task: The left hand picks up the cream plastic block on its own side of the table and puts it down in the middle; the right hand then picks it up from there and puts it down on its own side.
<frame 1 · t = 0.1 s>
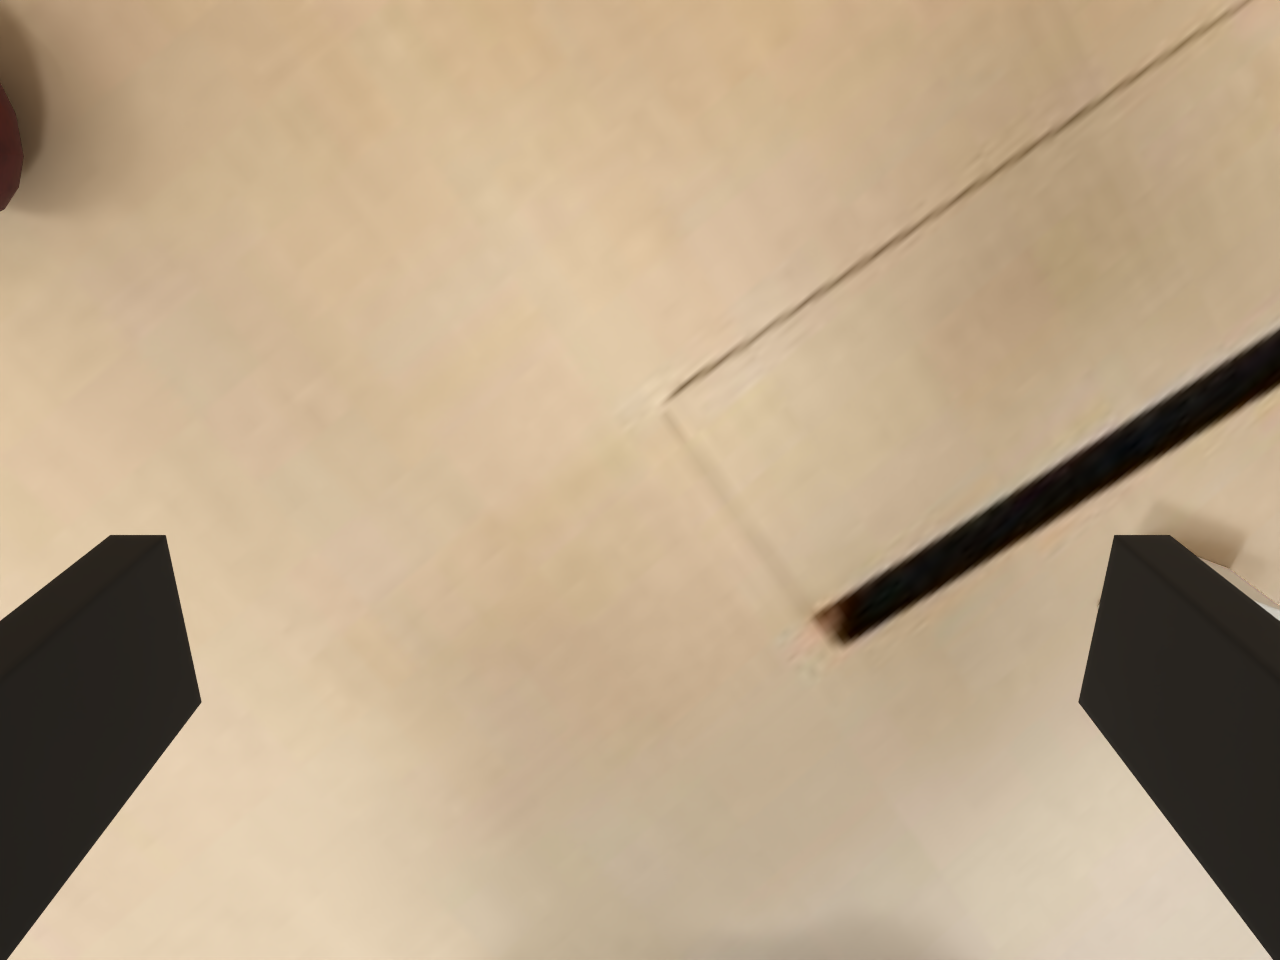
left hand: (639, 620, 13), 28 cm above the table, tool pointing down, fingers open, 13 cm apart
block: (1162, 588, 44), on the table
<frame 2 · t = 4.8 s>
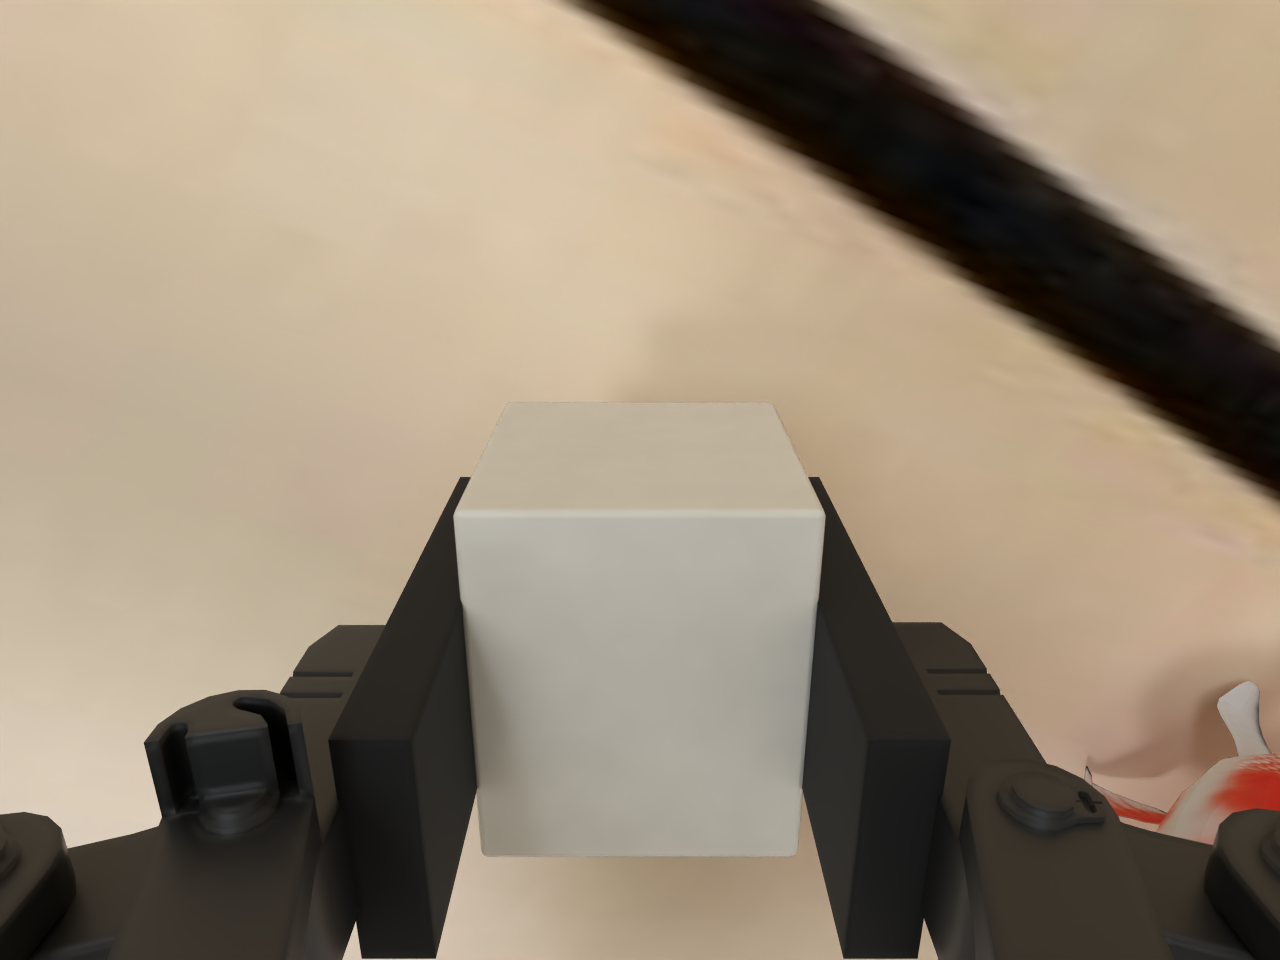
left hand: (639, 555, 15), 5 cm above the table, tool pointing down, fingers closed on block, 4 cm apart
block: (639, 545, 15), point 5 cm above the table, touching left hand
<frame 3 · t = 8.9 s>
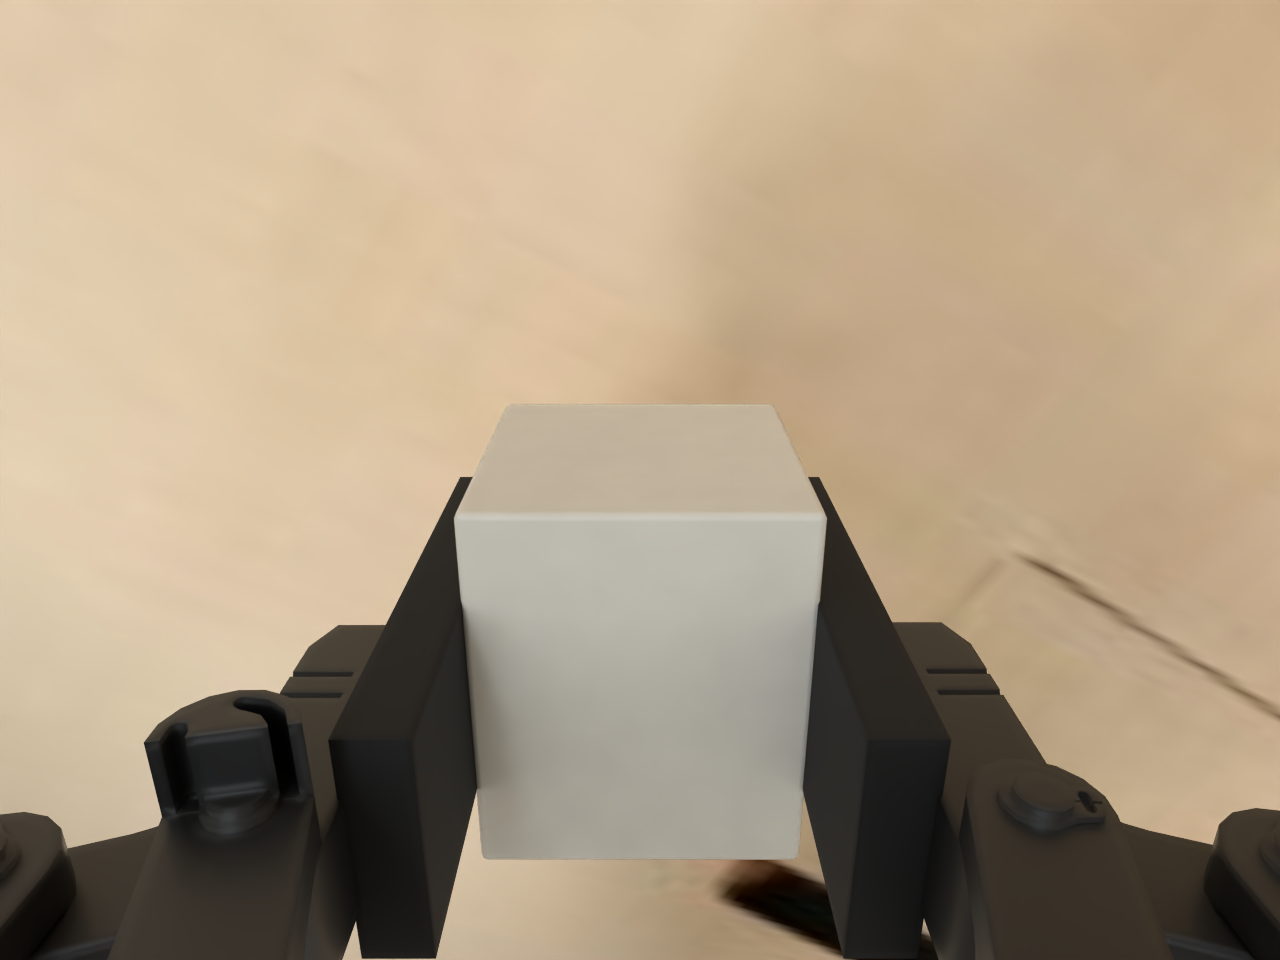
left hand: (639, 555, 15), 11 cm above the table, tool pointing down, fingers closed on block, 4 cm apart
block: (640, 547, 15), point 10 cm above the table, touching left hand
when the left hand's fingers open (0 cm above the table, at t = 13.1 s): block stays where it is, on the table.
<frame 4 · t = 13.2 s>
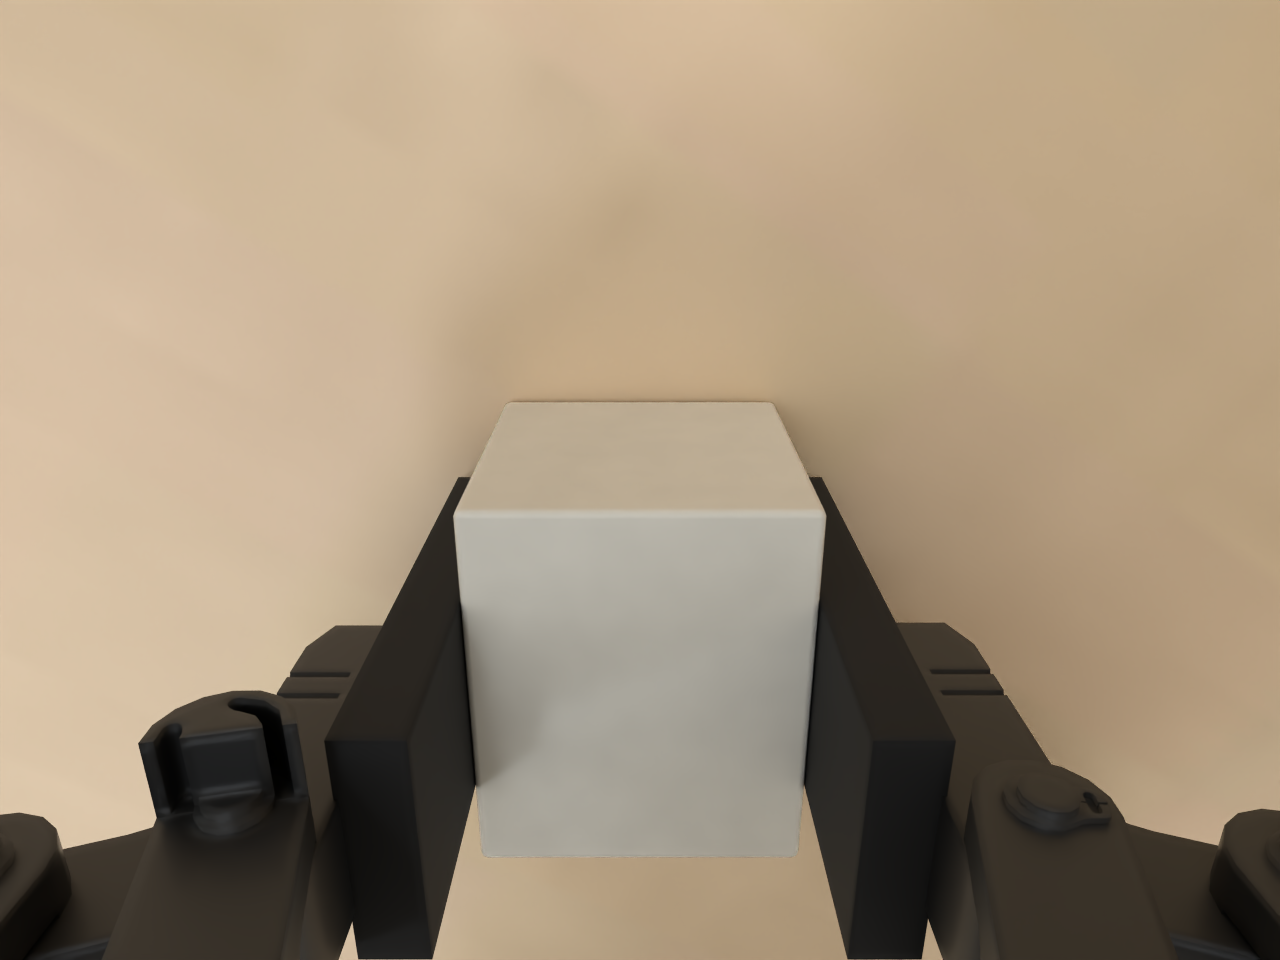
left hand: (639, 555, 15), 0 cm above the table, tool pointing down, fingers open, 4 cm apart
block: (639, 545, 15), on the table
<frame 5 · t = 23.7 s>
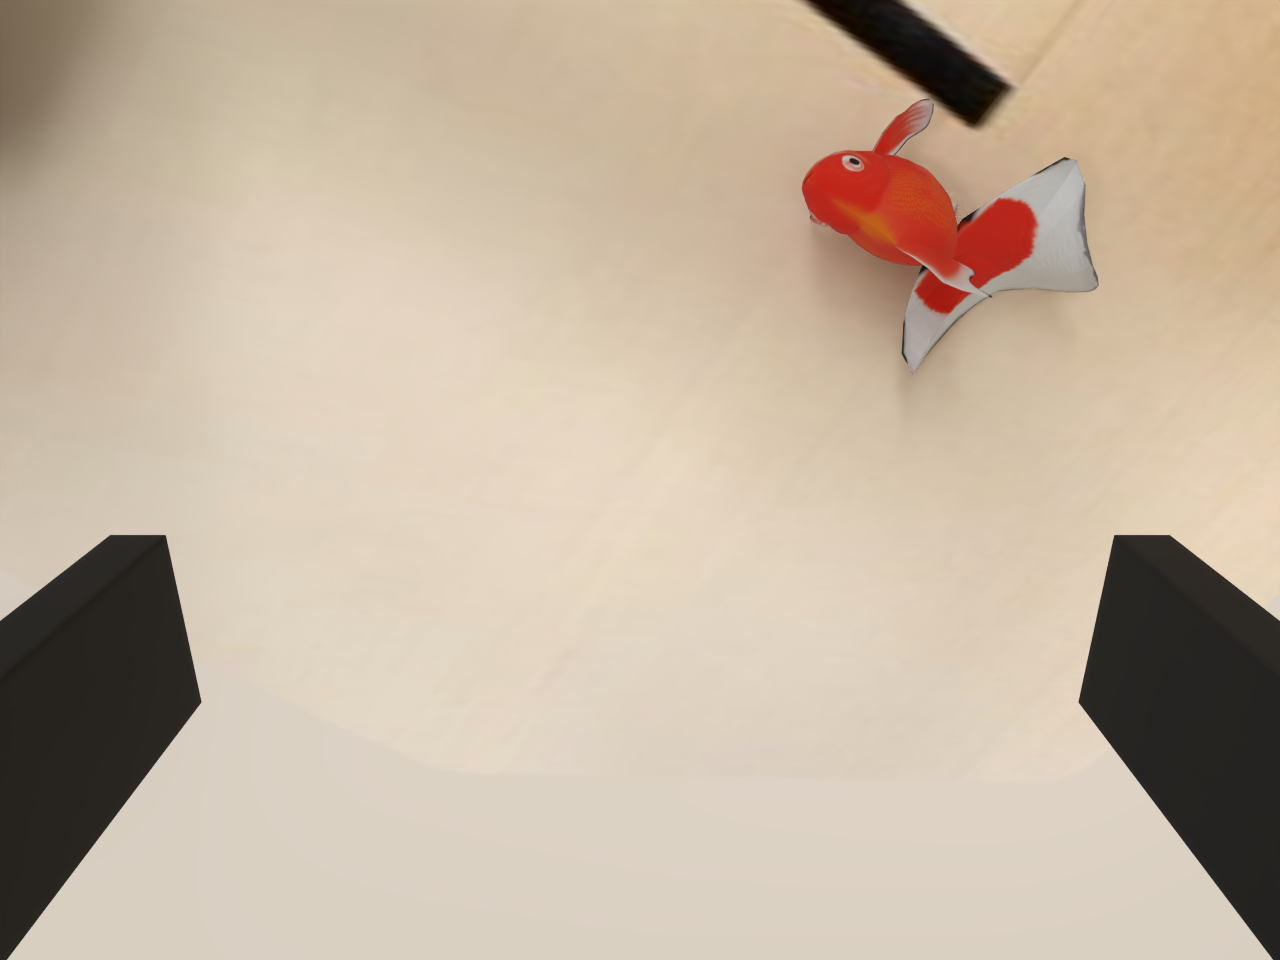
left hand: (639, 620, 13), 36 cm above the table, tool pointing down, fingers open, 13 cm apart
fish: (930, 225, 45), on the table
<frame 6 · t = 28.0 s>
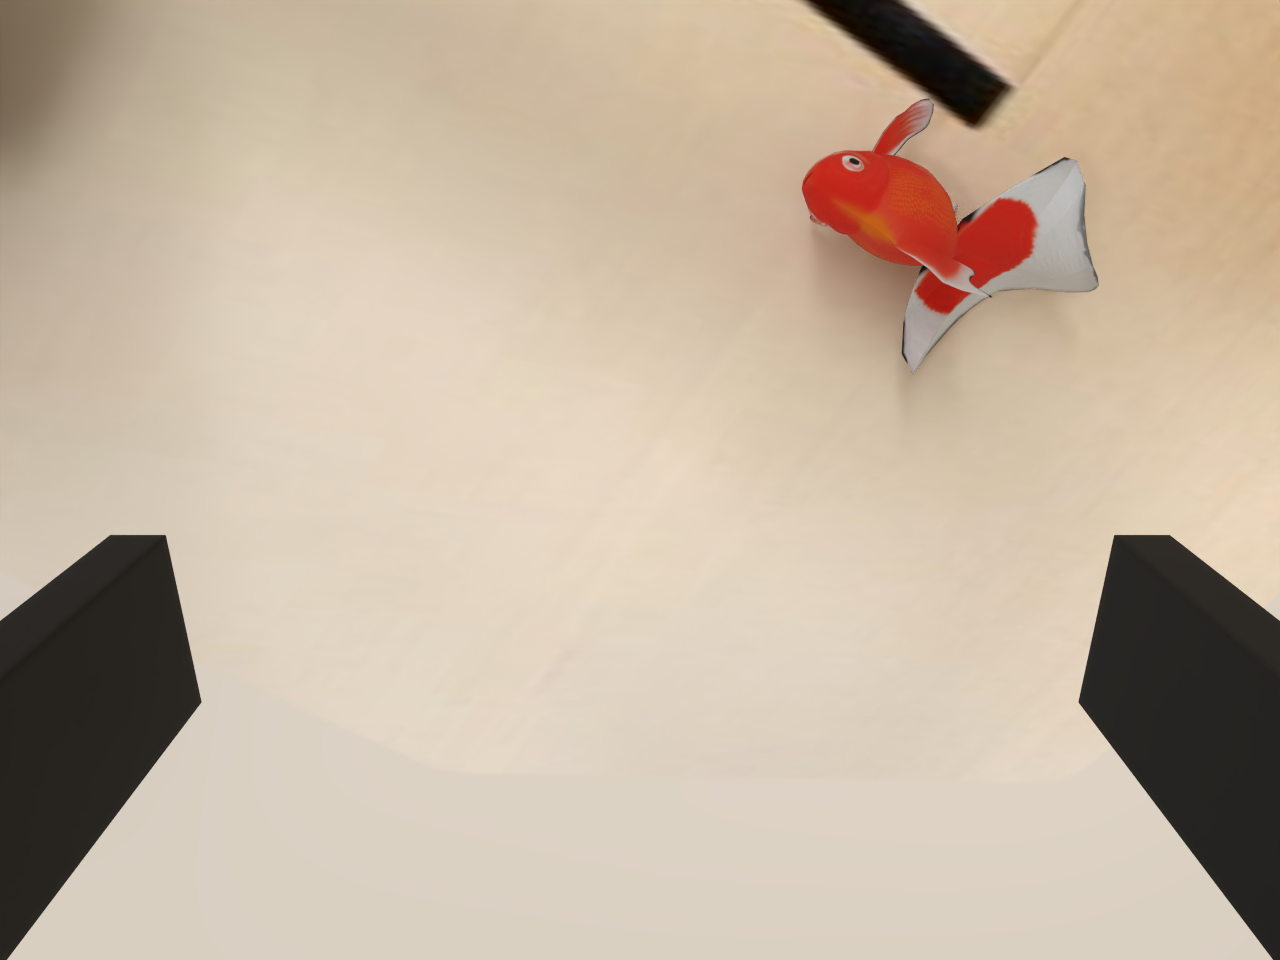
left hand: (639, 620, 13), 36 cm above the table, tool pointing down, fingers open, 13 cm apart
fish: (930, 225, 45), on the table
when the right hand's fingers open (1 cm above the table, at t = 32.6 s): block stays where it is, on the table.
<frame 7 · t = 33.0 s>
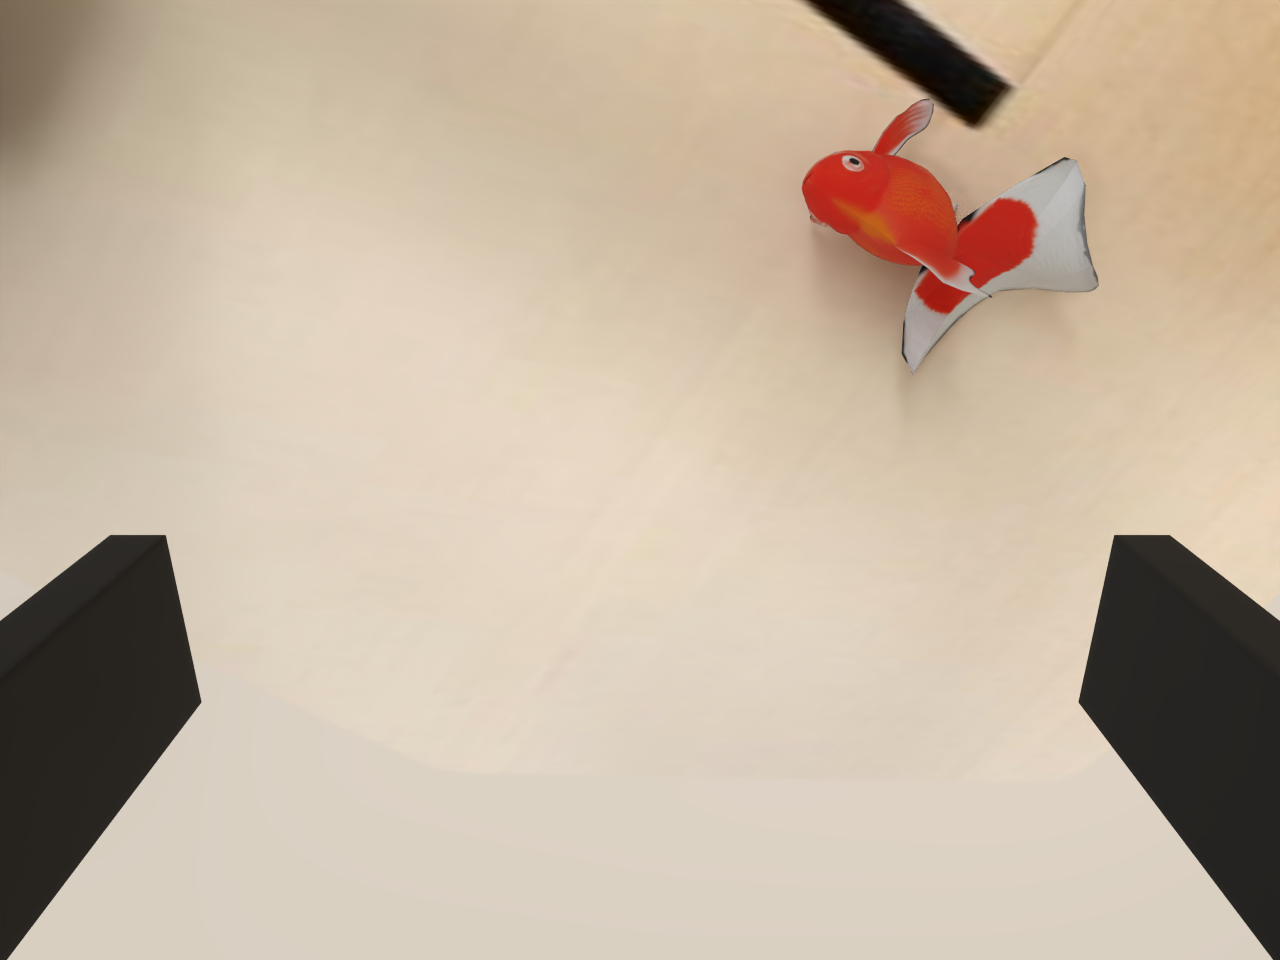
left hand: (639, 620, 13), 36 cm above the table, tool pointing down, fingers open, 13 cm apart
fish: (930, 225, 45), on the table
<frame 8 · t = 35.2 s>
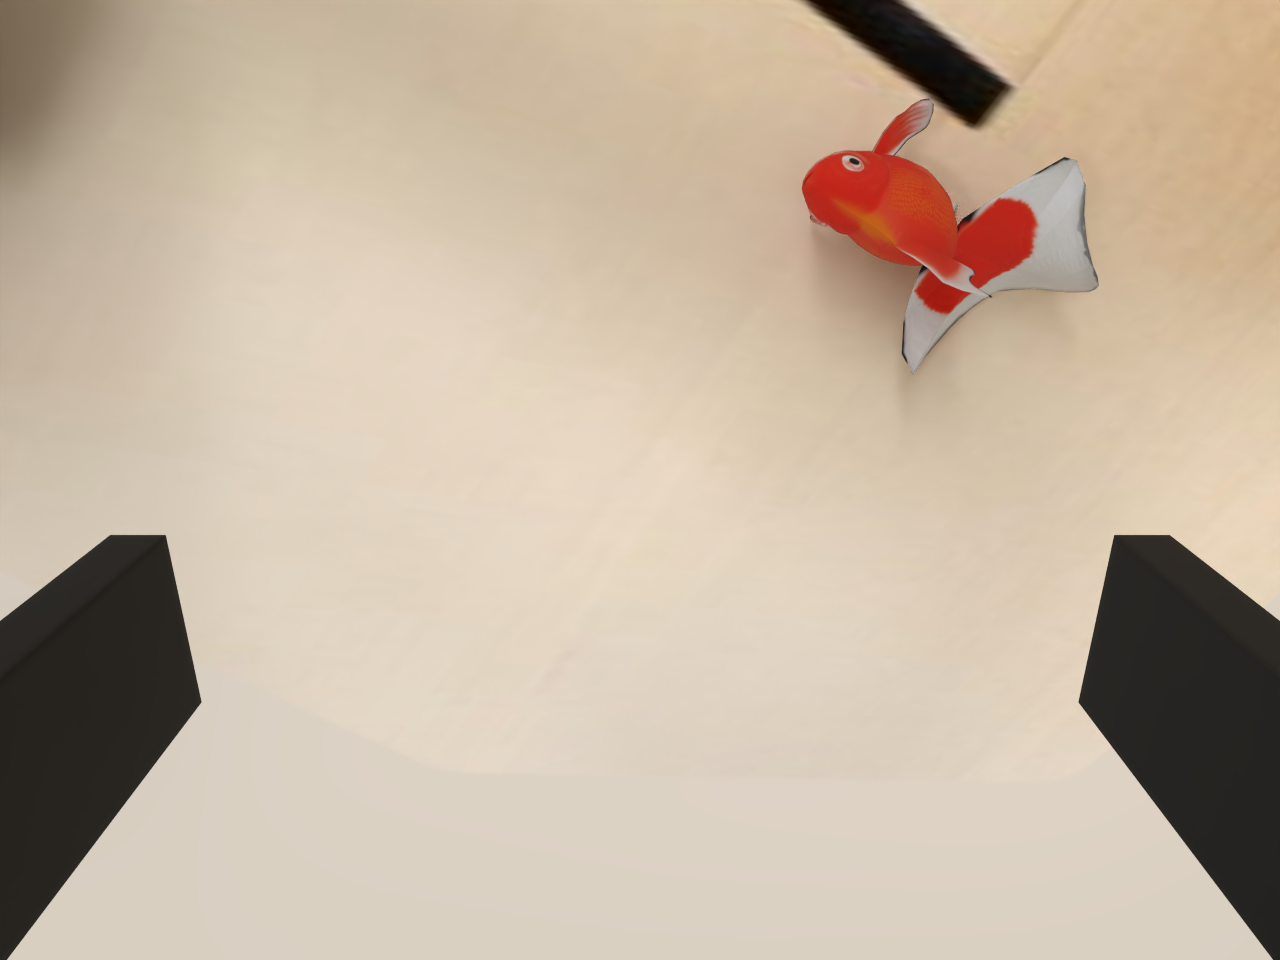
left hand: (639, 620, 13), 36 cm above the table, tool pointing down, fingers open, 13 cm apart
fish: (930, 225, 45), on the table
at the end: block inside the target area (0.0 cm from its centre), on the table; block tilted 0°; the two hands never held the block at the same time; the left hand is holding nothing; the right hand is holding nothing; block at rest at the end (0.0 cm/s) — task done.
